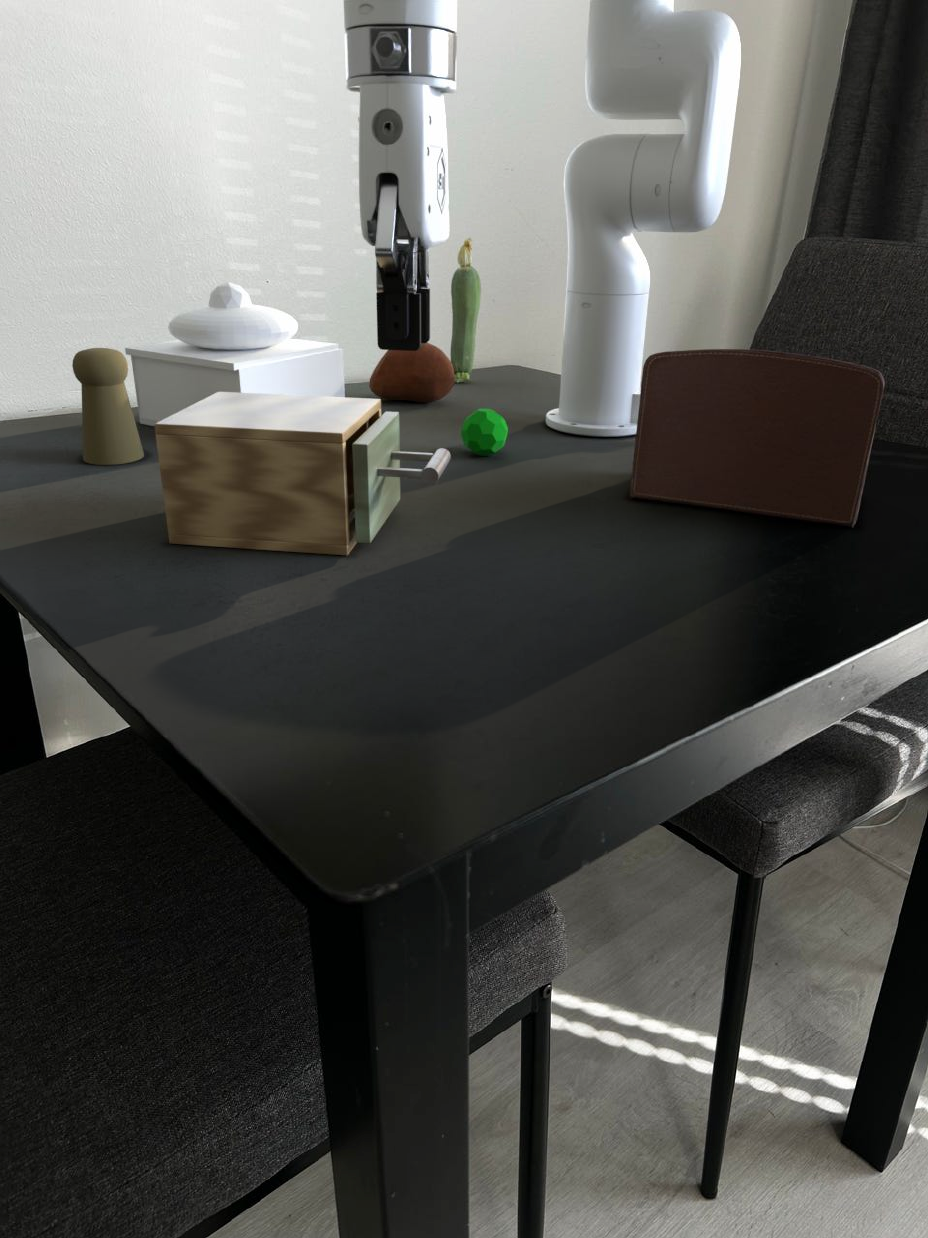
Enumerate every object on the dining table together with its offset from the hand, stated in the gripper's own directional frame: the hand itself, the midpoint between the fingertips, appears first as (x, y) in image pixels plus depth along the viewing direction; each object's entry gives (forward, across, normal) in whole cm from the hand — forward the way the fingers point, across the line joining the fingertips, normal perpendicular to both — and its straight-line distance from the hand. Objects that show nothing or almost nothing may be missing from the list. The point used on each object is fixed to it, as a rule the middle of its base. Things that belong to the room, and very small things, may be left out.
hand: (404, 343), depth 70 cm
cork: (+15, +17, +35) cm, 42 cm away
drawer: (+14, 0, +6) cm, 16 cm away
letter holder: (+15, +15, -29) cm, 36 cm away
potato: (+15, +52, +10) cm, 55 cm away
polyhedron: (+15, +26, -3) cm, 30 cm away
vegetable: (+15, +67, +5) cm, 69 cm away
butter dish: (+15, +36, +28) cm, 48 cm away
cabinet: (+15, 0, +11) cm, 19 cm away
